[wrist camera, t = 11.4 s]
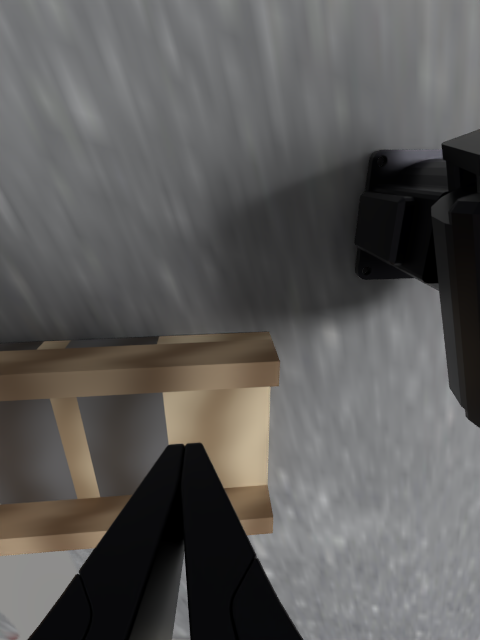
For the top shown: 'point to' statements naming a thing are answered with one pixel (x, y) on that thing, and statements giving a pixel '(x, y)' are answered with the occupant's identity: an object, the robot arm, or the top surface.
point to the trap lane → (126, 428)
